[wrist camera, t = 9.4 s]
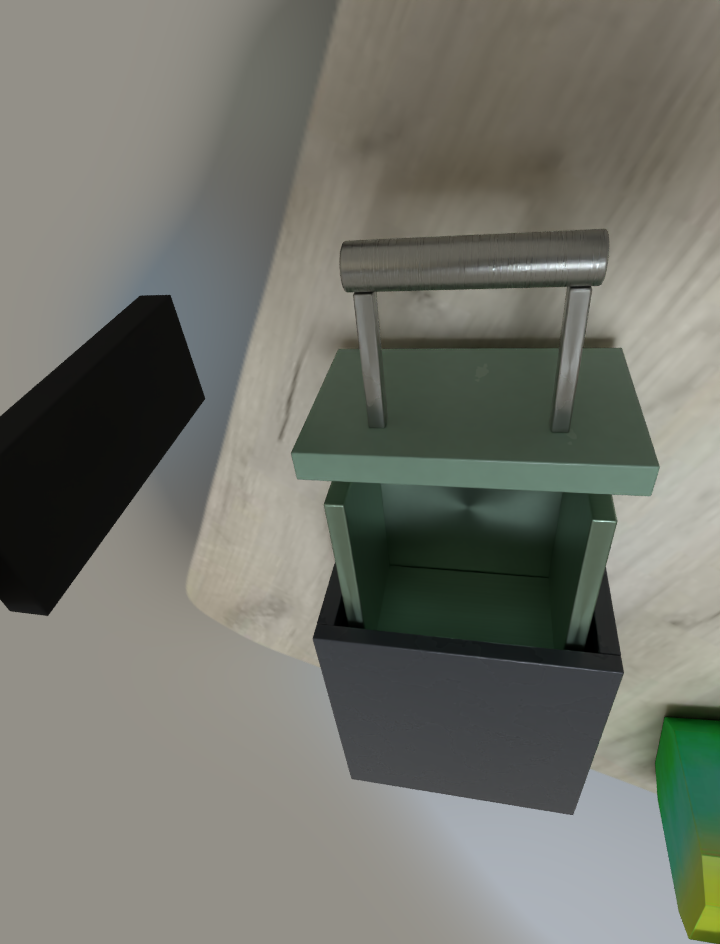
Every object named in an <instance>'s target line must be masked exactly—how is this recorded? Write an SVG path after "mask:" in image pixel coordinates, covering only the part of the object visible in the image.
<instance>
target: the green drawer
mask: <svg viewBox="0 0 720 944" xmlns="http://www.w3.org/2000/svg"><path fill="white" fill-rule="evenodd" d="M608 258H609V234H608V231H607V230H606V229H591V230H569V231H548V232H526V233H505V234H483V235H462V236H440V237H419V238H397V239H376V240H354V241H345V242H343V244H342V247H341V251H340V276H341V282H342V285H343V288H344V290H345V291H346V292H354V295H353V298H354V307H355V315H356V324H357V332H358V340H359V349H338V351H337V353H336V356H335V358H334V360H333V362H332V364H331V367H330V369H329V371H328V373H327V375H326V377H325V380H324V382H323V384H322V386H321V388H320V391H319V393H318V395H317V397H316V399H315V402H314V404H313V406H312V408H311V410H310V413H309V415H308V417H307V419H306V421H305V424H304V426H303V428H302V430H301V432H300V435H299V437H298V439H297V441H296V443H295V446H294V448H293V450H292V452H291V455H292V460H293V464H294V468H295V472H296V477H297V479H300V480H321V481H332V482H331V485H330V488H329V491H328V494H327V497H326V500H325V502H324V508H325V513H326V518H327V523H328V528H329V533H330V538H331V543H332V548H333V553H334V558H335V563H336V567H337V572H338V577H339V582H340V587H341V592H342V597H343V602H344V607H345V612H346V617H347V622H348V627H350V628H360V629H369V630H379V631H388V632H398V633H407V634H417V635H426V636H436V637H446V638H455V639H465V640H474V641H484V642H493V643H503V644H512V645H522V646H531V647H541V648H550V649H560V650H569V651H579V652H583V651H584V648H585V644H586V640H587V636H588V632H589V628H590V625H591V621H592V617H593V613H594V609H595V605H596V601H597V598H598V594H599V590H600V586H601V582H602V578H603V575H604V571H605V567H606V563H607V559H608V555H609V551H610V548H611V544H612V540H613V536H614V532H615V528H616V525H617V517H616V512H615V508H614V503H613V498H612V494H613V495H634V496H651V495H652V491H653V488H654V485H655V482H656V478H657V475H658V472H659V468H660V466H659V463H658V460H657V457H656V454H655V451H654V447H653V444H652V441H651V438H650V435H649V432H648V429H647V425H646V422H645V419H644V416H643V413H642V410H641V407H640V404H639V400H638V397H637V394H636V391H635V388H634V385H633V382H632V379H631V375H630V372H629V369H628V366H627V363H626V360H625V357H624V354H623V350H622V348H583V344H584V338H585V332H586V326H587V320H588V313H589V307H590V301H591V295H592V287H591V286H599V285H601V284H602V283H603V281H604V278H605V275H606V271H607V265H608ZM537 287H567V291H566V298H565V306H564V313H563V321H562V329H561V336H560V344H559V348H480V349H382V348H381V337H380V326H379V315H378V304H377V293H376V292H385V291H423V290H461V289H499V288H537Z"/></svg>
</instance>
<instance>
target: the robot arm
mask: <svg viewBox="0 0 720 944" xmlns="http://www.w3.org/2000/svg"><path fill="white" fill-rule="evenodd" d="M204 400H205V396H204V393H203V391H202V387H201V384H200V382H199V379H198V376H197V373H196V370H195V367H194V364H193V361H192V358H191V355H190V352H189V349H188V346H187V343H186V340H185V337H184V334H183V331H182V328H181V325H180V322H179V319H178V316H177V313H176V310H175V307H174V304H173V302H172V298H171V295H149V296H148V295H147V296H139V297H138V298H137V299H136V300H135V301H133V302H132V303H131V304H130V305H129V306H128V307H126V308H125V309H124V310H123V311H122V312H121V313H119V314H118V315H117V316H116V317H115V318H114V319H112V320H111V321H110V322H109V323H108V324H107V325H105V326H104V327H103V328H102V329H101V330H100V331H99V332H97V333H96V334H95V335H94V336H93V337H92V338H91V339H89V340H88V341H87V342H86V343H85V344H84V345H82V346H81V347H80V348H79V349H78V350H77V351H75V352H74V353H73V354H72V355H71V356H70V357H68V358H67V359H66V360H65V361H64V362H63V363H61V364H60V365H59V366H58V367H57V368H56V369H55V370H54V371H52V372H51V373H50V374H49V375H48V376H46V377H45V378H44V379H43V380H42V381H41V382H39V384H37V385H36V386H35V387H34V388H32V390H30V391H29V392H28V393H27V394H26V395H24V396H23V397H22V398H21V399H20V400H19V401H17V402H16V403H15V404H14V405H13V406H12V407H10V408H9V409H8V410H7V411H6V412H5V413H4V414H2V416H0V600H1V601H2V602H3V603H4V605H5V606H6V607H7V608H8V609H9V610H10V611H13V612H21V613H29V614H37V615H45V616H48V615H49V614H50V612H51V611H52V610H53V608H54V607H55V606H56V604H57V603H58V601H59V600H60V599H61V597H62V596H63V594H64V593H65V592H66V590H67V589H68V588H69V586H70V585H71V583H72V582H73V580H74V579H75V578H76V576H77V575H78V574H79V572H80V571H81V570H82V568H83V567H84V565H85V564H86V563H87V561H88V560H89V558H90V557H91V556H92V554H93V553H94V552H95V550H96V549H97V547H98V546H99V545H100V543H101V542H102V541H103V539H104V538H105V536H106V535H107V534H108V532H109V531H110V529H111V528H112V527H113V525H114V524H115V523H116V521H117V520H118V518H119V517H120V516H121V514H122V513H123V512H124V510H125V509H126V507H127V506H128V505H129V503H130V502H131V500H132V499H133V498H134V496H135V495H136V493H137V492H138V491H139V489H140V488H141V487H142V485H143V484H144V482H145V481H146V480H147V478H148V477H149V475H150V474H151V473H152V471H153V470H154V469H155V467H156V466H157V465H158V463H159V462H160V460H161V459H162V457H163V456H164V455H165V454H166V452H167V451H168V449H169V448H170V447H171V445H172V444H173V443H174V441H175V440H176V438H177V437H178V435H179V434H180V433H181V431H182V430H183V429H184V427H185V426H186V425H187V423H188V422H189V420H190V419H191V417H192V416H193V415H194V413H195V412H196V411H197V409H198V408H199V406H200V405H201V404H202V402H203V401H204Z"/></svg>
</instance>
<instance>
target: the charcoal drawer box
mask: <svg viewBox="0 0 720 944" xmlns="http://www.w3.org/2000/svg"><path fill="white" fill-rule="evenodd" d="M313 642H314V645H315V649H316V652H317V656H318V660H319V663H320V667H321V670H322V674H323V677H324V681H325V685H326V688H327V692H328V696H329V699H330V703H331V707H332V710H333V714H334V717H335V721H336V725H337V728H338V732H339V735H340V739H341V743H342V746H343V750H344V753H345V757H346V761H347V764H348V768H349V772H350V775H351V778H352V779H356V780H362V781H368V782H374V783H380V784H386V785H392V786H399V787H405V788H410V789H416V790H423V791H429V792H435V793H441V794H448V795H454V796H459V797H466V798H472V799H477V800H484V801H490V802H496V803H502V804H508V805H514V806H520V807H526V808H532V809H538V810H544V811H551V812H557V813H563V814H570V815H573V814H574V811H575V809H576V806H577V803H578V800H579V797H580V794H581V791H582V789H583V786H584V783H585V780H586V777H587V775H588V772H589V769H590V767H591V764H592V761H593V758H594V755H595V753H596V750H597V747H598V744H599V741H600V738H601V736H602V733H603V730H604V727H605V724H606V722H607V719H608V716H609V713H610V710H611V708H612V705H613V702H614V699H615V696H616V694H617V691H618V688H619V685H620V682H621V680H622V677H623V674H624V670H623V665H622V659H621V652H620V646H619V640H618V635H617V629H616V623H615V617H614V611H613V606H612V600H611V594H610V588H609V583H608V577H607V571H606V567H605V571H604V575H603V578H602V582H601V586H600V590H599V594H598V598H597V601H596V605H595V609H594V613H593V617H592V621H591V625H590V628H589V632H588V636H587V640H586V644H585V648H584V651H583V652H579V651H569V650H560V649H550V648H541V647H531V646H522V645H512V644H503V643H493V642H484V641H474V640H465V639H455V638H446V637H436V636H426V635H417V634H407V633H398V632H388V631H379V630H369V629H360V628H350V627H348V622H347V617H346V612H345V607H344V602H343V597H342V592H341V587H340V582H339V577H338V572H337V567H336V563H335V564H334V567H333V571H332V574H331V577H330V581H329V584H328V588H327V591H326V594H325V598H324V601H323V605H322V608H321V611H320V615H319V618H318V622H317V626H316V629H315V632H314V636H313Z"/></svg>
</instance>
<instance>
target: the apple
mask: <svg viewBox="0 0 720 944" xmlns="http://www.w3.org/2000/svg"><path fill="white" fill-rule="evenodd" d="M655 768H656V782H657V796H658V803H659V808H660V813H661V818H662V824H663V830H664V835H665V840H666V845H667V851H668V857H669V861H670V867H671V873H672V878H673V883H674V889H675V894H676V899H677V904H678V910H679V913H680V916H681V919H682V922H683V924H684V927H685V930H686V932H687V935H688V938H689V939H691V940H697V941H703V942H709V943H716V944H720V721H717V720H702V719H687V718H673V717H664V722H663V727H662V732H661V737H660V742H659V747H658V752H657V756H656V761H655Z"/></svg>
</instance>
